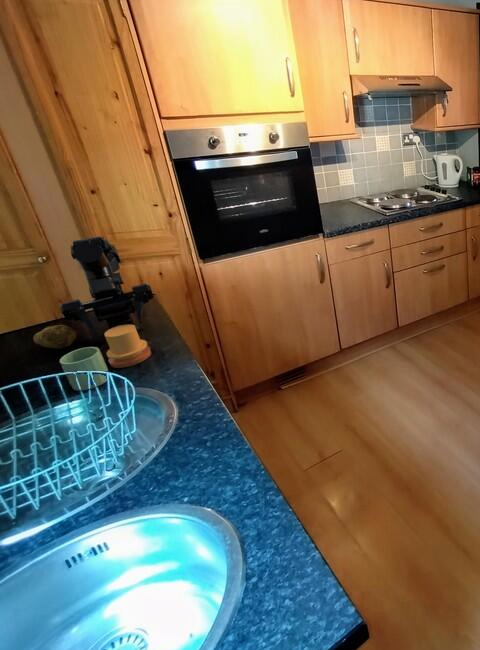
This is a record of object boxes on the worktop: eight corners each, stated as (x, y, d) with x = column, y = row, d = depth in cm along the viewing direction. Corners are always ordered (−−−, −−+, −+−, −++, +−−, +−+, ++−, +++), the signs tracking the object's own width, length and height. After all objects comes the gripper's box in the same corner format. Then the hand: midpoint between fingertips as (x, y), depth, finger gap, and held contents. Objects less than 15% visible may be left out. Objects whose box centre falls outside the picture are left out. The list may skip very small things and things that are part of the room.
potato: (75, 334, 134) (64, 311, 131) (84, 350, 127) (72, 326, 124) (36, 346, 129) (24, 322, 125) (43, 363, 121) (30, 338, 118)
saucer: (103, 362, 122) (101, 358, 121) (140, 345, 129) (139, 342, 129) (120, 371, 118) (118, 367, 118) (158, 354, 125) (156, 350, 125)
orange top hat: (100, 362, 120) (89, 337, 117) (129, 344, 127) (120, 321, 124) (129, 365, 119) (119, 340, 116) (157, 347, 126) (148, 323, 123)
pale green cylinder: (67, 385, 113) (54, 358, 110) (102, 369, 119) (90, 344, 115) (80, 394, 110) (67, 367, 106) (116, 377, 116) (104, 351, 112)
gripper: (45, 275, 112) (64, 330, 109) (139, 256, 123) (158, 306, 121) (57, 293, 120) (75, 345, 117) (144, 273, 132) (162, 320, 129)
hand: (119, 328), depth 121 cm, fingers open, 9 cm apart
